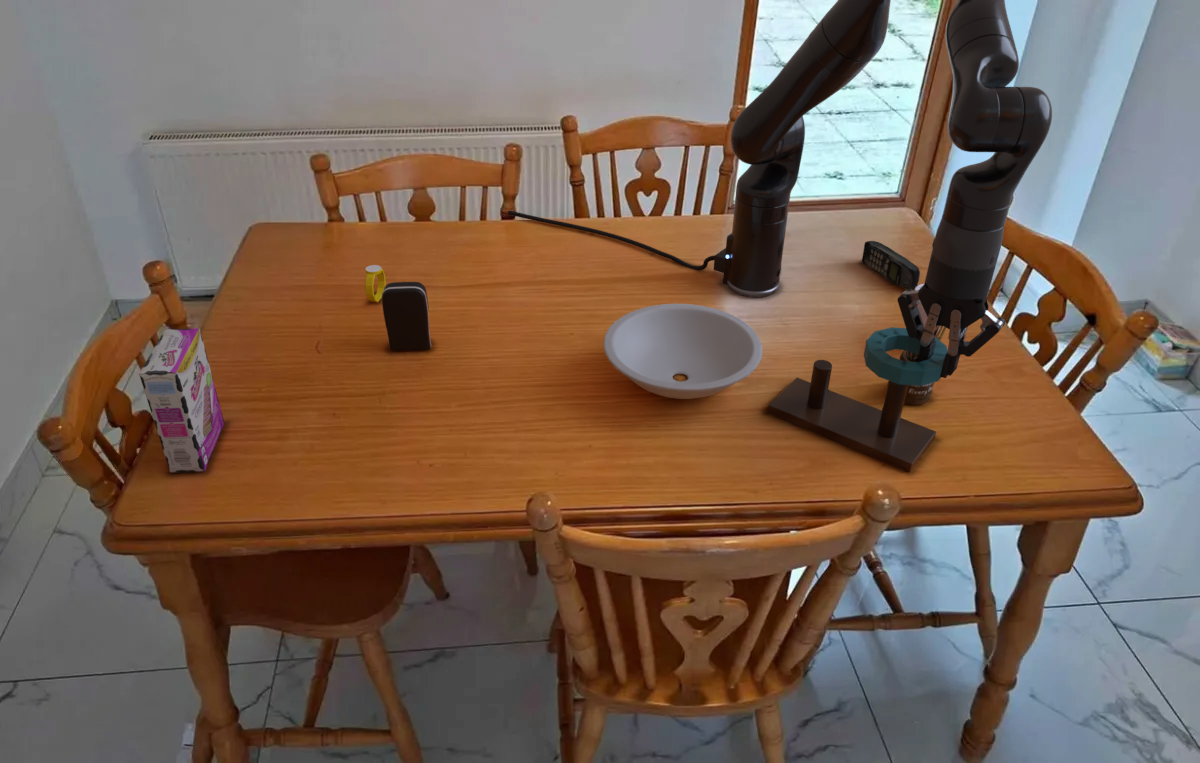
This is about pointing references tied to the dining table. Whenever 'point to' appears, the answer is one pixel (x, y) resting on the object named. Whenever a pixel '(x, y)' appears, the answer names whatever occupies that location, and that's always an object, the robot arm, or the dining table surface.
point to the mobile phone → (891, 265)
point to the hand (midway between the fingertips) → (934, 370)
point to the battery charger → (406, 316)
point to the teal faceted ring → (897, 368)
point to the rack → (854, 419)
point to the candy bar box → (183, 399)
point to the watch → (369, 284)
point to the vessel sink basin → (682, 349)
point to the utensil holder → (914, 392)
